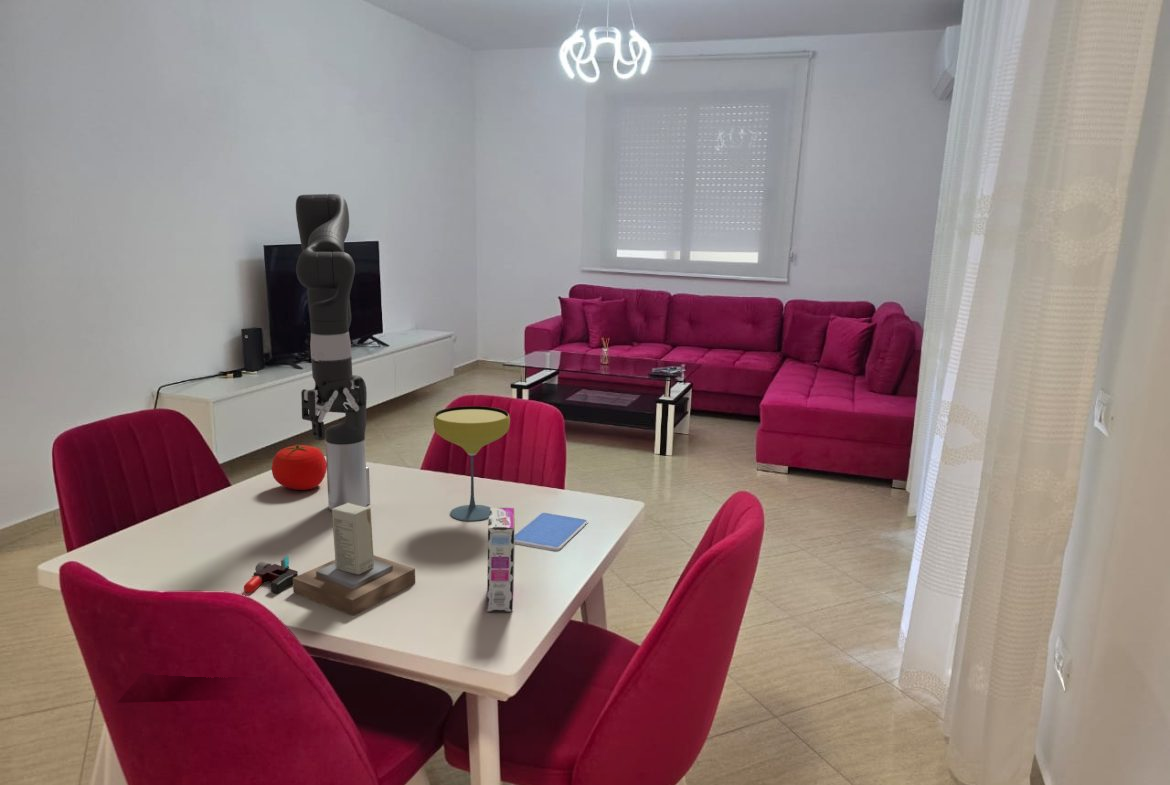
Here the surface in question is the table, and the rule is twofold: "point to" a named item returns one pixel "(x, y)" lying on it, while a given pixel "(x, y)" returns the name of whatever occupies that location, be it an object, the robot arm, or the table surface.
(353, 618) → the table surface
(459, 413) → the cocktail glass
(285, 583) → the toy gun
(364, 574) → the walnut plinth
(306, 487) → the tomato
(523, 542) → the tablet computer
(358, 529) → the skincare box
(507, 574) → the candy bar box
